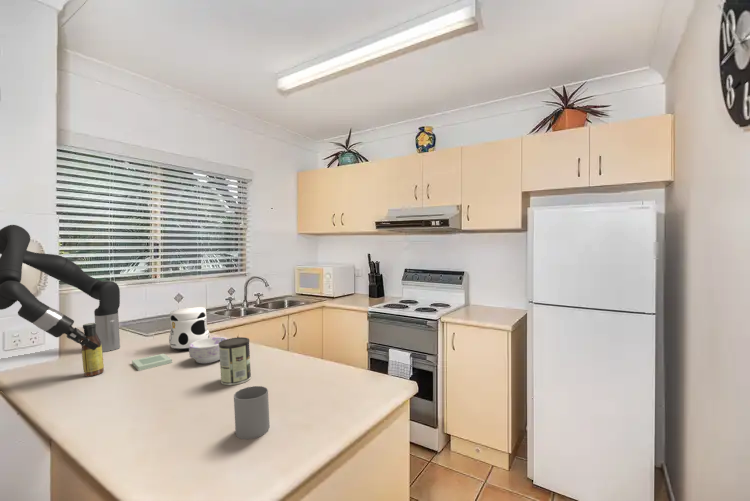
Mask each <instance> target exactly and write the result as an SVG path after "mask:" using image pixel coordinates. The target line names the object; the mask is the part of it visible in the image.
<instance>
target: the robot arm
mask: <svg viewBox="0 0 750 501" xmlns="http://www.w3.org/2000/svg"><path fill="white" fill-rule="evenodd" d="M30 242H31V235H30V233H29V232H28V230H26V229H25V228H23V227H22V226H20V225H17V224H10V225H9V224H8V225H5V226H4V227H2V228H1V229H0V255H1V256H0V310H1V311H2V310H3V311H4V310H6V309H8V308H10V307H11V306H13V305H15V303H17V302H19V304H20V305H21V307H20V308H19V309H18V311H17V315H18V316H19V317H20V318H22V319H24V320H26V321H27V322H29V323H31V324H33V325H34V326H36V327H37V328H39V329H40V330H42V331H43V332H46V333H47V334H49V335H51V336H52V337H54V338H60V337H61V336H62V335H64V334H65V335H66V338H67V339H69V340H71V341H73V342H75V343H77V344H80V346H81V345H85V346H87V347H88V348H90V349H92V350H95V349H96V348H97V347H98V345H97V344H95V343H94V342H92V341H90V340H89V339H87V338H86V335H84V331H81V329H78V327H73V325H74V323H75V320H74V319H72V318H70V317H68V315H65V314H63V312H60V311H59V310H57V309H55V308H53V307H50V306H49V305H47V304H45V303H44V302H42V301H40V299H38V298H37V296H35V295H34V294H33V292H31V291H30V290H29V289H28V287H27V286H26V285H24V284H23V283H21V281H22V275H23V274H22V273H23V272H22V270H23V264H24V265H27V266H29V267H31V268H33V269H36V270H37V271H40V272H42V273H44V274H46V275H47V276H49V277H51V278H53V279H56V280H57V281H59V282H62V283H64V284H67V285H69V286H71V287H74V288H76V289H78V290H80V291H81V292H83V293H84V294H86V295H87V296H89V297H91V298H92V299H94V300H97V301H98V302H99V303H98V307H97V308H95V309H94V311H93V314H94V323H96V333H97V335H98V337H99V339H100V341H101V344H102V353H103V352H104V353H105V352H110V350H111V351H114V350H118V349H119V348H120V347H121V342H120V341H121V339H120V323H119V322H120V321H119V308H120V304H121V300H120V299H121V295H120V294H121V291H120V286H119V284H118V283H116V282H115V281H113V280H100V279H97V278H94V277H93V276H92V275H91V276H90V275H89V274H87V273H86V272H84V270H83V269H82V268H81V267H80V266H79V265H78V264H77V263H76V262H74V261H72V260H70V259H68V258H67V257H64V256H62V255H57V254H55V253H54V254H52V253H42V252H41V253H40V252H35V251H34V252H33V251H29V250H28V247H29V244H30ZM83 339H84V340H83ZM82 340H83V341H82Z"/></svg>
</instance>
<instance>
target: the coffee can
mask: <svg viewBox="0 0 750 501" xmlns="http://www.w3.org/2000/svg"><path fill="white" fill-rule="evenodd" d="M219 351H220V360H219V365H220V366H219V368H220V383H221V384H222V385H223V386H237V385H241V384H244V383H246V382H248V381H250V380H251V378H252V374H251V373H252V372H251V357H250V356H251V355H250V354H251V352H250V351H251V350H250V339H249V337H231V338H227V339H226V340H223V341H221V342H219Z"/></svg>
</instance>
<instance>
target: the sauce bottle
mask: <svg viewBox="0 0 750 501" xmlns="http://www.w3.org/2000/svg"><path fill="white" fill-rule="evenodd" d="M82 329H83V333H84V335H86V338H87V339H89V340H90V341H92V342H94V343H95V344H97V345H98V347H97V348H96V349H95V350H92V349H90V348H88V347H87V346H85V345H81V344H80V346H81V358H82V367H83V373H84V376H85V377H93V376H98V375H100V374H103V373H104V371H105V370H104V368H105V367H104V366H105V364H104V354H103V352H102V344H101V341H100V339H99V337H98V335H97V333H96V323H95V322H89V323H85V324H83V325H82ZM83 340H84V339H83ZM83 340H82V341H83ZM82 341H81V342H82Z"/></svg>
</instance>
